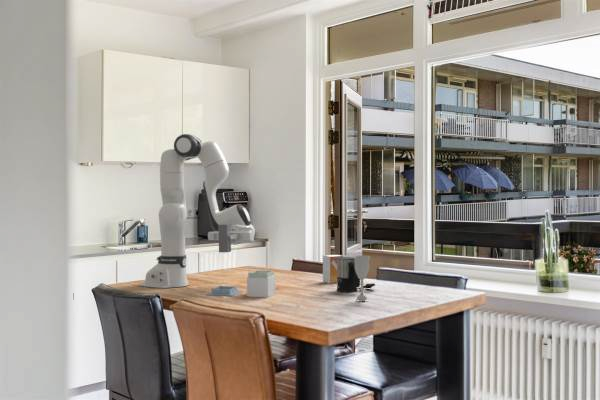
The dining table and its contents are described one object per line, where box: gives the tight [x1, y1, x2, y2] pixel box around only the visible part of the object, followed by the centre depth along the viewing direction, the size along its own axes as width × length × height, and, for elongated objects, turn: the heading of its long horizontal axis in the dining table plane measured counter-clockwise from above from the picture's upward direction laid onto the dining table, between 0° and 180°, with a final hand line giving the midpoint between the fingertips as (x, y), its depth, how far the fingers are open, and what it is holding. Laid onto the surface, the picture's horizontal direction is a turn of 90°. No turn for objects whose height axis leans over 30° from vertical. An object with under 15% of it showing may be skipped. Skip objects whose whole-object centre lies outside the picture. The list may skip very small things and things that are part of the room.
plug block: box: [218, 224, 232, 253], centre depth 273 cm, size 4×4×12 cm
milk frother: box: [336, 256, 376, 293], centre depth 280 cm, size 14×16×15 cm
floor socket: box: [205, 285, 243, 297], centre depth 274 cm, size 12×12×2 cm
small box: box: [322, 254, 344, 284], centre depth 305 cm, size 8×6×13 cm
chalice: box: [353, 255, 371, 301], centre depth 254 cm, size 7×7×18 cm
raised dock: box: [246, 269, 276, 298], centre depth 269 cm, size 10×10×10 cm
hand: (223, 237), depth 272 cm, fingers closed on plug block, 4 cm apart
